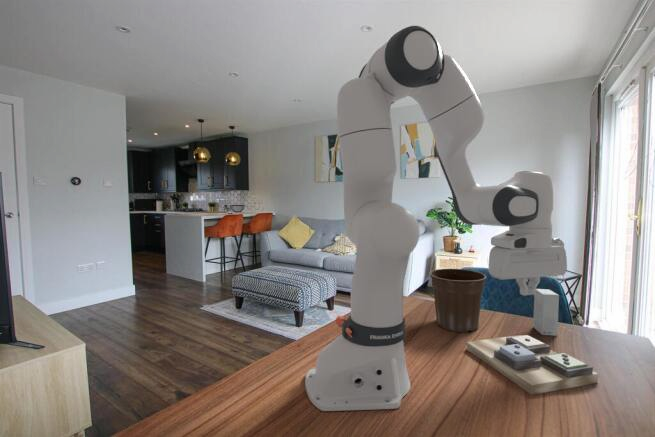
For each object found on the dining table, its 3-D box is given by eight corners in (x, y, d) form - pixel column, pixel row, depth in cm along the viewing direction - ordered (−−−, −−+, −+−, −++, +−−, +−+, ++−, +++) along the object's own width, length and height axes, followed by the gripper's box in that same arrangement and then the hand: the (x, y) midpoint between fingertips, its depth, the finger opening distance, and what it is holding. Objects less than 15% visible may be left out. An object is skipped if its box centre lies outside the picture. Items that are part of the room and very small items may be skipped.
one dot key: (527, 353, 77) (527, 345, 77) (511, 343, 82) (511, 336, 82) (544, 350, 79) (544, 342, 78) (527, 341, 83) (527, 334, 83)
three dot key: (567, 375, 68) (567, 366, 68) (545, 363, 72) (546, 354, 72) (585, 372, 69) (586, 363, 69) (563, 360, 74) (564, 352, 74)
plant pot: (426, 330, 96) (427, 277, 95) (431, 312, 111) (431, 266, 110) (487, 339, 90) (488, 282, 89) (483, 319, 104) (484, 270, 103)
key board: (531, 394, 64) (532, 377, 64) (466, 349, 84) (467, 336, 84) (597, 382, 68) (598, 366, 68) (520, 342, 88) (521, 329, 88)
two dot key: (516, 364, 71) (516, 355, 70) (499, 353, 75) (499, 345, 75) (535, 361, 72) (535, 352, 72) (517, 351, 77) (517, 343, 76)
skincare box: (558, 336, 91) (559, 295, 90) (541, 335, 92) (542, 294, 91) (548, 327, 97) (549, 289, 96) (532, 326, 98) (533, 288, 97)
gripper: (552, 236, 84) (549, 288, 84) (485, 238, 79) (483, 293, 80) (576, 239, 77) (573, 295, 78) (504, 241, 73) (502, 301, 73)
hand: (527, 294), depth 79 cm, fingers closed
